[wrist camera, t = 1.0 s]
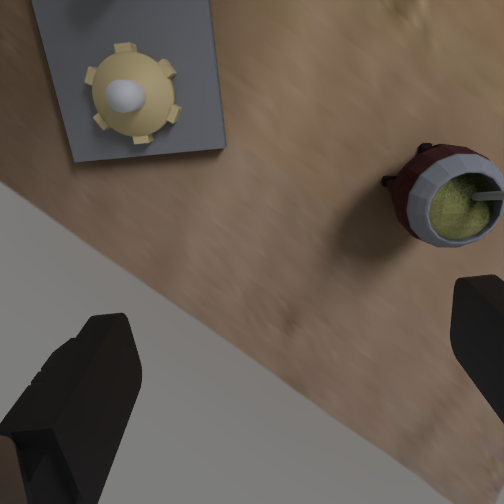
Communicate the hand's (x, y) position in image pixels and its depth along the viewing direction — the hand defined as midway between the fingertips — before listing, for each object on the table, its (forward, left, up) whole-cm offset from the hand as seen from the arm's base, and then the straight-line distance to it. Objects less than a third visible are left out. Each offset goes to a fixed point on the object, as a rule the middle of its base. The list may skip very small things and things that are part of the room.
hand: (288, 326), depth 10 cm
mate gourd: (+3, +13, -25) cm, 28 cm away
